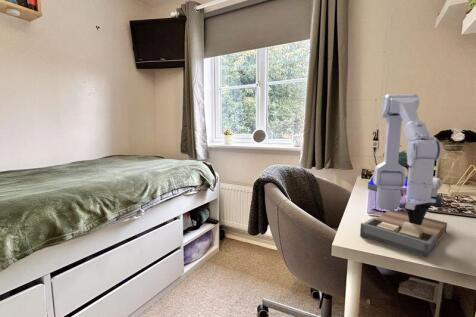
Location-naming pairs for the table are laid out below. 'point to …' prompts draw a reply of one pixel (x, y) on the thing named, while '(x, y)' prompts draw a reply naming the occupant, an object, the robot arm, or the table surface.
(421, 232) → the tile
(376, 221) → the walnut board
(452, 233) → the table surface
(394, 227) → the tile
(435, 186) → the grey and teal figurine
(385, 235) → the slate bin
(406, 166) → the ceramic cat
